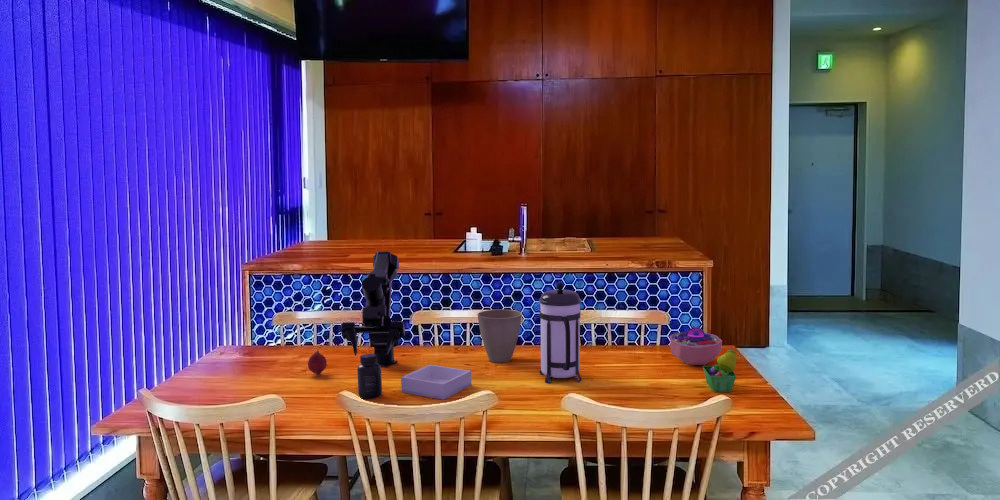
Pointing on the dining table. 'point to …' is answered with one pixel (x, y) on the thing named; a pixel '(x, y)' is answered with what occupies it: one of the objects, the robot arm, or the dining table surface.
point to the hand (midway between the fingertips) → (371, 354)
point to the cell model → (695, 346)
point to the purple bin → (436, 381)
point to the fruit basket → (722, 373)
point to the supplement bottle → (369, 377)
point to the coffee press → (560, 334)
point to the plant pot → (499, 333)
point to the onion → (317, 363)
